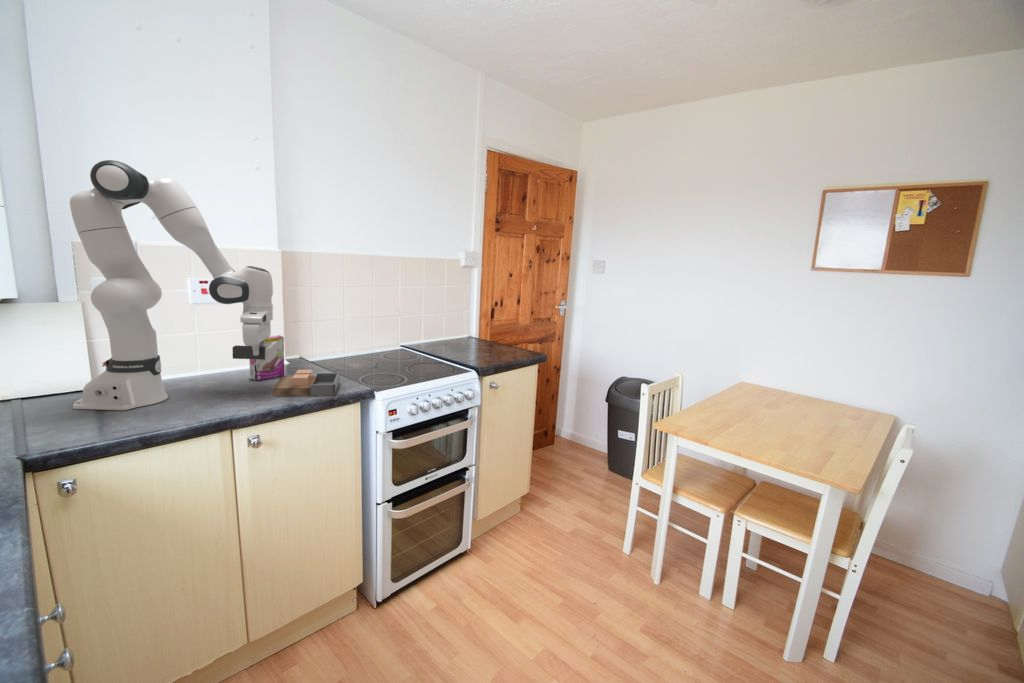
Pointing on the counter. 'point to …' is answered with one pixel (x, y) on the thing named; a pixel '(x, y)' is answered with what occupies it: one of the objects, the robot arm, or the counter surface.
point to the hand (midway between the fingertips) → (258, 353)
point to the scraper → (247, 353)
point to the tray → (325, 384)
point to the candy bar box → (272, 368)
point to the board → (292, 387)
